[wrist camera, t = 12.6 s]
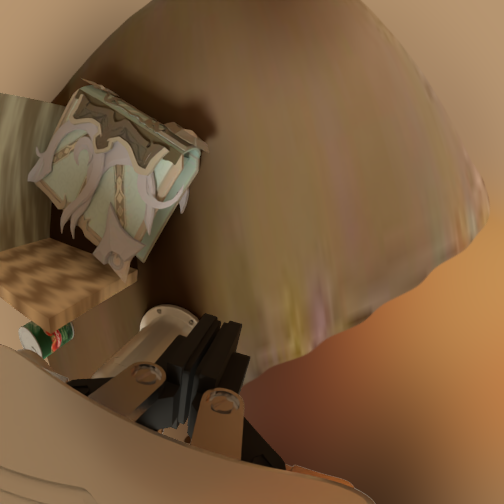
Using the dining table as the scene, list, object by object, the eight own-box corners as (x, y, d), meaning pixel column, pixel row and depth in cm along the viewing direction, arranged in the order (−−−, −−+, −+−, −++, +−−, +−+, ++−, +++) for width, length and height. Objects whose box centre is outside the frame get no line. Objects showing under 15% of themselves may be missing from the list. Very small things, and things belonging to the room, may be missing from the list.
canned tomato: (47, 314, 50) (14, 332, 40) (60, 302, 48) (24, 321, 38) (64, 343, 51) (34, 365, 40) (79, 334, 49) (46, 358, 38)
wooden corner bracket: (166, 105, 36) (76, 61, 17) (136, 281, 43) (50, 333, 24) (61, 107, 39) (-18, 93, 20) (44, 244, 46) (-31, 269, 27)
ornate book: (229, 152, 38) (98, 76, 37) (209, 143, 28) (64, 62, 28) (153, 274, 44) (47, 181, 43) (122, 296, 34) (12, 185, 34)
